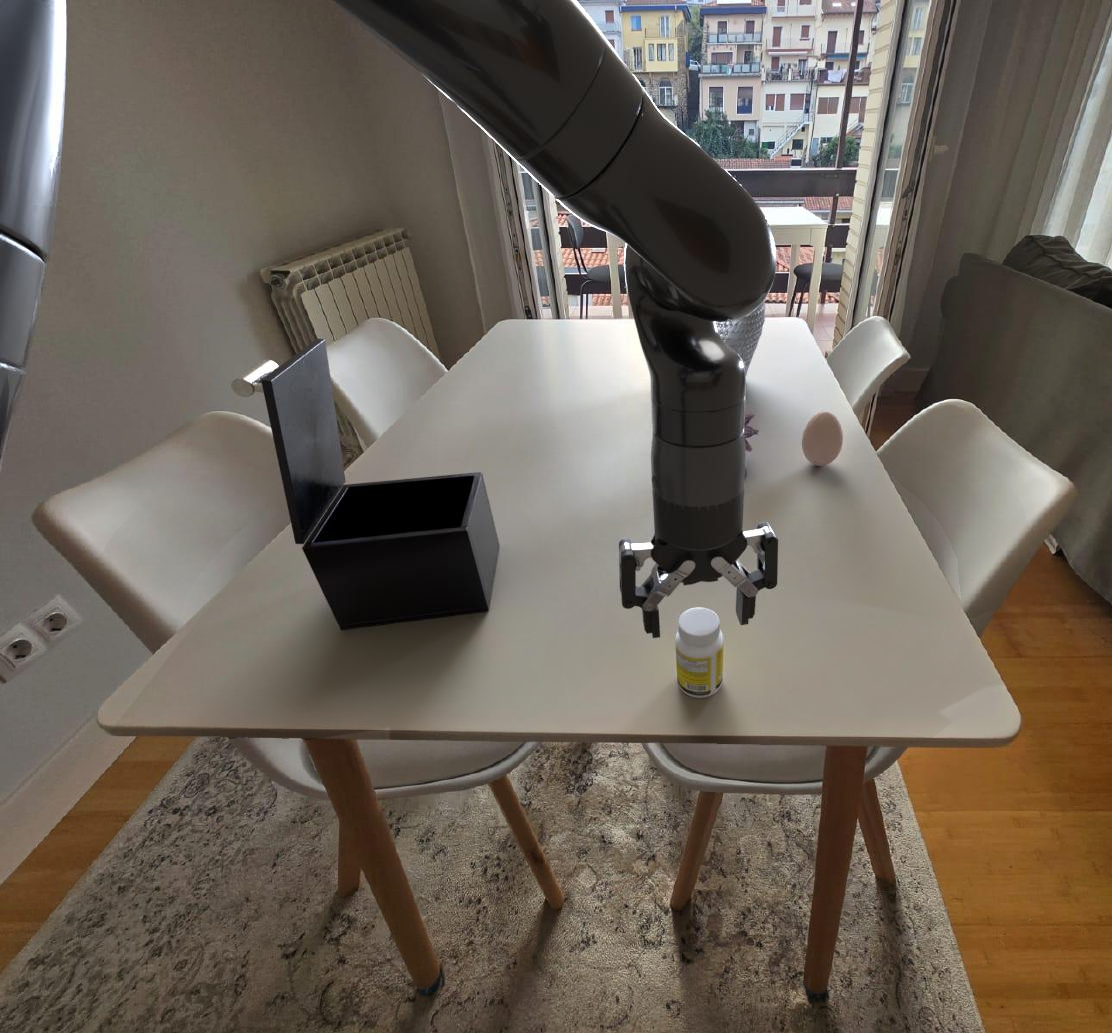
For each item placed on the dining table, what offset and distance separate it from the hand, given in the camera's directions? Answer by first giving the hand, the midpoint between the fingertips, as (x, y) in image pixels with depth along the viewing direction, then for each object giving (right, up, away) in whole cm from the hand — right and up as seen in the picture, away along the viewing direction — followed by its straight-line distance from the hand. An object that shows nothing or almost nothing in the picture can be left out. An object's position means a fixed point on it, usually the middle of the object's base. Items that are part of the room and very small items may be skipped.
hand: (698, 625), depth 54 cm
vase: (+5, +42, +79) cm, 90 cm away
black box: (-34, +2, +18) cm, 39 cm away
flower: (+5, +20, +46) cm, 50 cm away
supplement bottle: (0, -7, +4) cm, 8 cm away
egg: (+22, +19, +44) cm, 53 cm away
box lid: (-41, +19, +5) cm, 45 cm away
